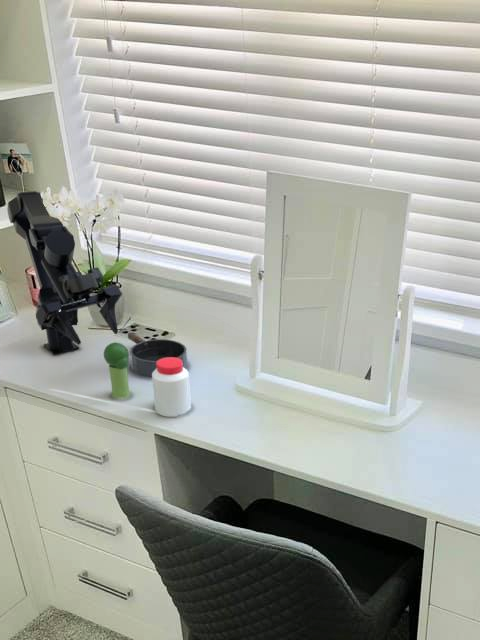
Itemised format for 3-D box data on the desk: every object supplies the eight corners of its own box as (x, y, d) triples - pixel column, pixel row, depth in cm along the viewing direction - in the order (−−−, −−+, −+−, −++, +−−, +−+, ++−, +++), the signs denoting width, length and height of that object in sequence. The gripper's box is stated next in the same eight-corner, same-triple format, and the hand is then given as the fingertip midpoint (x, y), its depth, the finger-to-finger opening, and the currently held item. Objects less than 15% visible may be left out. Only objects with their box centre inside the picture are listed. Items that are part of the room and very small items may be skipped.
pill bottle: (147, 411, 169) (143, 365, 163) (168, 397, 175) (164, 352, 169) (178, 420, 167) (174, 373, 161) (198, 405, 173) (195, 359, 167)
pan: (121, 364, 188) (119, 347, 185) (168, 351, 195) (167, 335, 193) (150, 384, 180) (148, 366, 178) (198, 370, 188) (197, 352, 185)
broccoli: (103, 394, 175) (96, 342, 168) (123, 387, 178) (117, 336, 171) (119, 404, 171) (112, 351, 164) (139, 397, 175) (133, 344, 168)
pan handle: (126, 339, 194) (125, 332, 193) (133, 337, 195) (132, 330, 194) (143, 349, 189) (142, 343, 188) (149, 348, 190) (148, 341, 189)
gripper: (33, 265, 159) (70, 333, 160) (112, 248, 171) (147, 311, 172) (20, 292, 168) (55, 356, 168) (96, 274, 180) (129, 333, 180)
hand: (98, 338), depth 172 cm, fingers open, 9 cm apart
